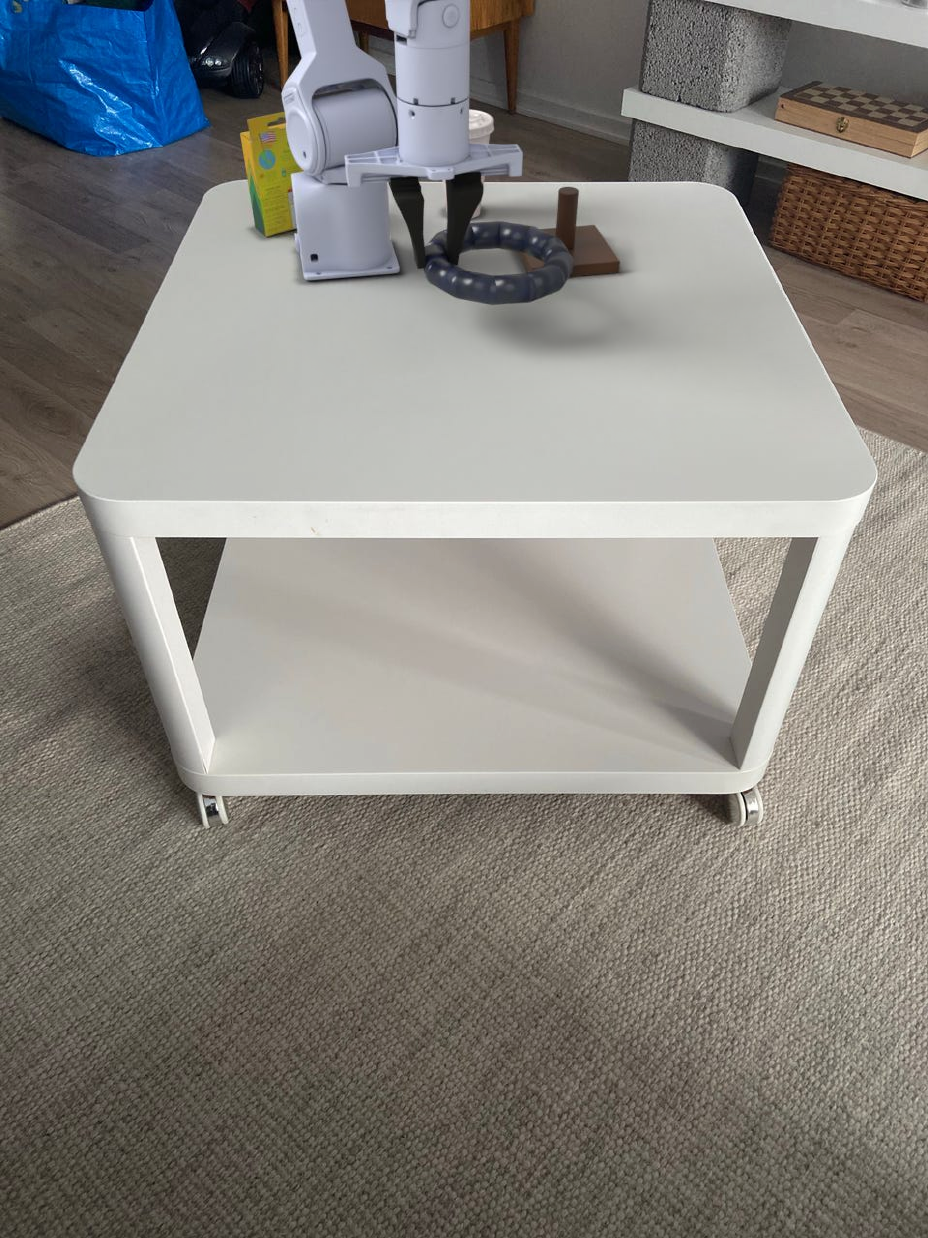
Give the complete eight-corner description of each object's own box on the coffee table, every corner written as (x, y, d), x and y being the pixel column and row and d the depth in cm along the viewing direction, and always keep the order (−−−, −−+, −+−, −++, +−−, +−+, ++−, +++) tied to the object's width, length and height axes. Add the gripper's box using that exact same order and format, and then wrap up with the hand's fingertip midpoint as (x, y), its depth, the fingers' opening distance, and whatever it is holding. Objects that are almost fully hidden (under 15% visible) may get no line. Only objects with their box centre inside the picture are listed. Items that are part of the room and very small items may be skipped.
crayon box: (315, 213, 107) (303, 98, 99) (327, 222, 105) (316, 106, 97) (253, 228, 104) (235, 110, 96) (264, 237, 103) (247, 119, 94)
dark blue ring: (435, 313, 82) (435, 286, 80) (411, 246, 91) (411, 221, 90) (588, 303, 84) (591, 276, 82) (549, 238, 93) (551, 213, 92)
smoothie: (436, 200, 110) (434, 62, 100) (493, 201, 110) (496, 63, 100) (432, 223, 105) (429, 81, 95) (491, 224, 105) (494, 82, 95)
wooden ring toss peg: (531, 280, 96) (534, 211, 91) (511, 242, 102) (513, 176, 97) (619, 272, 97) (627, 204, 92) (593, 235, 103) (600, 170, 98)
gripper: (346, 117, 73) (359, 289, 82) (534, 106, 74) (526, 275, 84) (337, 87, 77) (350, 253, 87) (514, 78, 79) (508, 241, 89)
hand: (435, 262), depth 86 cm, fingers closed on dark blue ring, 2 cm apart
